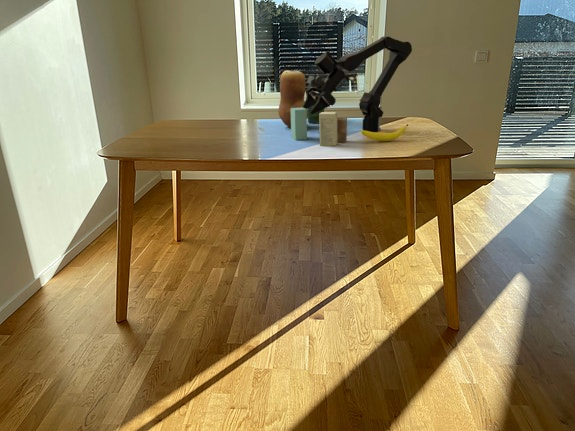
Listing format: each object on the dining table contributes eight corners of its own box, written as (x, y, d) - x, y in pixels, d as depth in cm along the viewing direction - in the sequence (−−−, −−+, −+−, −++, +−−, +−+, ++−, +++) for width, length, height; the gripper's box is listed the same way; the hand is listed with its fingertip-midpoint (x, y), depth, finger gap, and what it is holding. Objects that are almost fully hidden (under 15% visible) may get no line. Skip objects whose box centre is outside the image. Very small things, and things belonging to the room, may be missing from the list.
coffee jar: (322, 124, 200) (323, 83, 192) (306, 123, 201) (306, 83, 194) (325, 120, 208) (325, 81, 201) (309, 120, 210) (309, 81, 203)
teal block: (302, 136, 177) (302, 107, 172) (306, 138, 172) (306, 109, 168) (291, 137, 175) (290, 108, 170) (295, 140, 171) (294, 110, 166)
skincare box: (337, 143, 163) (338, 111, 158) (335, 146, 159) (335, 113, 154) (321, 142, 165) (321, 111, 160) (318, 145, 161) (318, 113, 156)
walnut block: (346, 140, 168) (347, 117, 164) (345, 143, 164) (346, 120, 160) (335, 140, 169) (335, 117, 165) (333, 142, 165) (334, 119, 161)
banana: (358, 142, 165) (359, 125, 162) (405, 139, 166) (406, 123, 164) (360, 143, 162) (361, 127, 160) (408, 141, 164) (409, 124, 161)
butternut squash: (313, 127, 193) (313, 70, 183) (289, 131, 186) (288, 72, 176) (296, 123, 203) (295, 68, 193) (272, 127, 196) (270, 70, 187)
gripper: (309, 66, 174) (285, 95, 175) (329, 69, 157) (301, 101, 158) (327, 85, 179) (303, 113, 180) (347, 89, 163) (320, 120, 164)
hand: (306, 111), depth 171 cm, fingers open, 9 cm apart
